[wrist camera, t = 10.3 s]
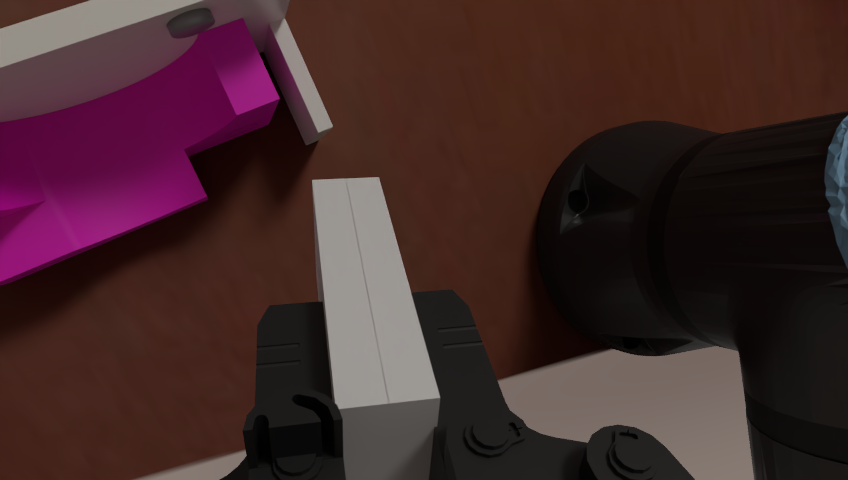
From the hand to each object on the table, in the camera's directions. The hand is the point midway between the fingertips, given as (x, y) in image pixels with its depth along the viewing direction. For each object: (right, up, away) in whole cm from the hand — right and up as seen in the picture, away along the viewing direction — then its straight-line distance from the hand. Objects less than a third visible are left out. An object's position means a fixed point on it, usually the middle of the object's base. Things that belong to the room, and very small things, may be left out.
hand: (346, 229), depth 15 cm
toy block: (-14, +4, +19) cm, 23 cm away
